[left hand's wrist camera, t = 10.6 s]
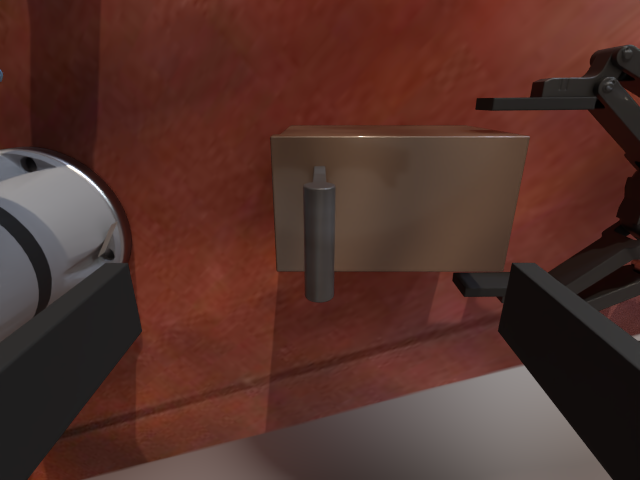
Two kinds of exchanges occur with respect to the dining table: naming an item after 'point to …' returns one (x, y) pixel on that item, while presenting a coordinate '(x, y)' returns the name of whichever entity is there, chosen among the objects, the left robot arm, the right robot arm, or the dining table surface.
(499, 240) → the lid
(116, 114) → the dining table surface
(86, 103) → the dining table surface
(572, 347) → the left robot arm
